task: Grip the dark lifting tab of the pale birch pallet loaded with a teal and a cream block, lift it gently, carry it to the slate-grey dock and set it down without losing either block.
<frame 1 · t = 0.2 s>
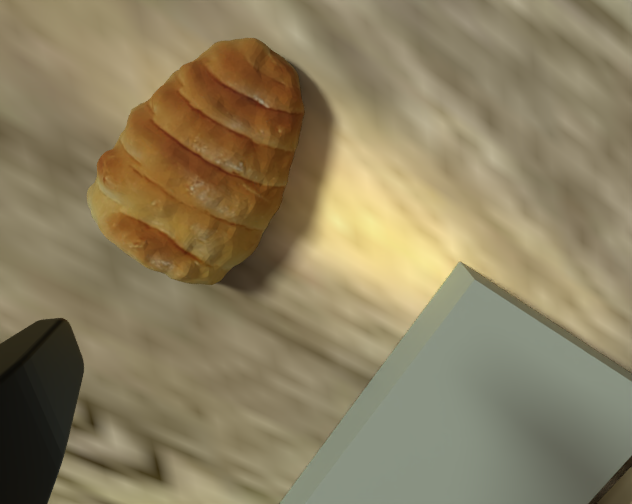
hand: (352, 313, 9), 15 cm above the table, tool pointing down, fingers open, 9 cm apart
pastry: (203, 165, 25), on the table
dock: (436, 465, 28), on the table
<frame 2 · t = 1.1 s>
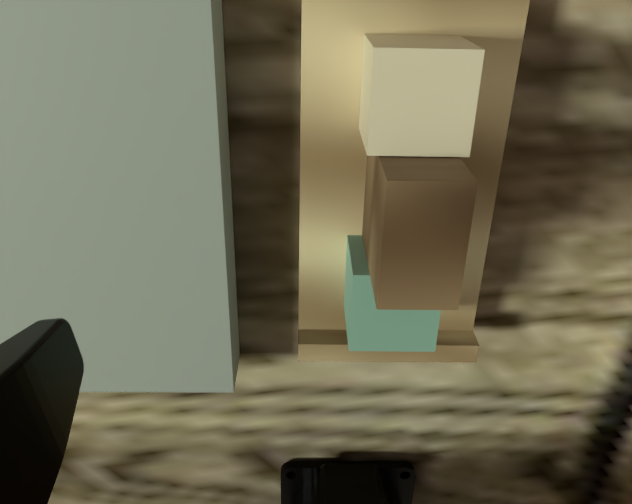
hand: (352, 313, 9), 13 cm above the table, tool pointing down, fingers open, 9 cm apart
dock: (94, 167, 22), on the table
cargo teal: (384, 271, 23), point 1 cm above the table, touching pallet
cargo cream: (407, 83, 19), point 1 cm above the table
pallet: (391, 165, 23), on the table, touching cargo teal
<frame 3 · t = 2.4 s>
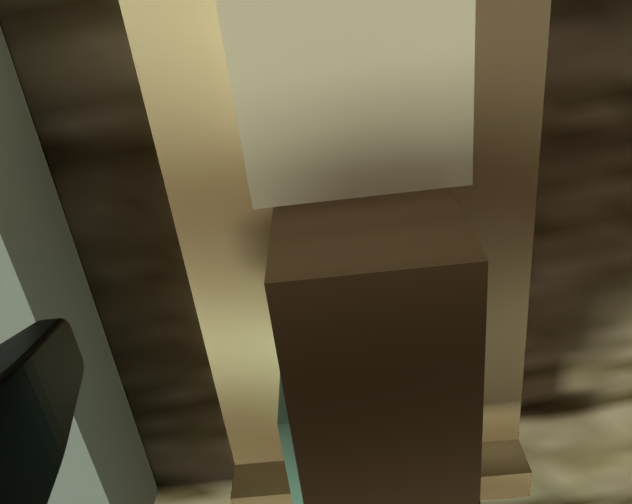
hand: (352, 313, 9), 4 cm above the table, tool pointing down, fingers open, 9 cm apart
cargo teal: (358, 368, 13), point 1 cm above the table, touching pallet
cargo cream: (339, 43, 10), point 1 cm above the table, touching pallet
pallet: (349, 189, 13), on the table, touching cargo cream, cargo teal
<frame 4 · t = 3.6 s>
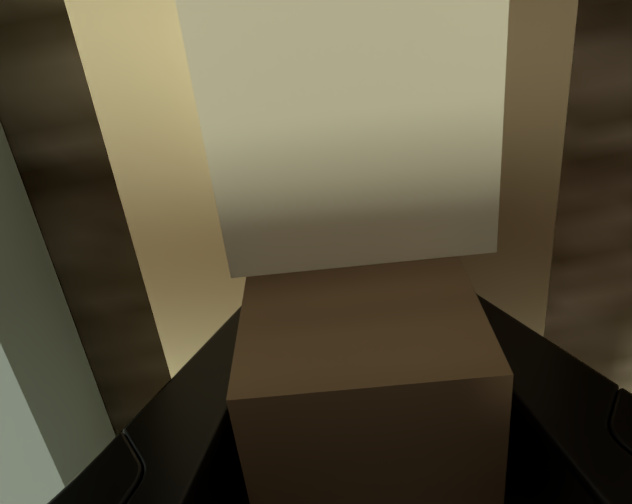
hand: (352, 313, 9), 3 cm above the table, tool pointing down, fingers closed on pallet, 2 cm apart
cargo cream: (338, 72, 9), point 2 cm above the table, touching pallet
pallet: (341, 227, 12), on the table, touching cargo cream, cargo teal, gripper
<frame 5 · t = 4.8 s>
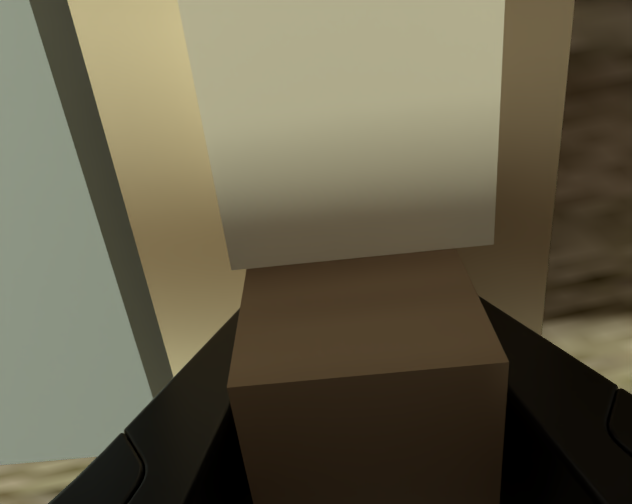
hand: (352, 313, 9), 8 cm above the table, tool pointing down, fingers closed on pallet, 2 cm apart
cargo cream: (337, 67, 9), point 7 cm above the table, touching pallet
pallet: (341, 223, 12), point 5 cm above the table, touching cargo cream, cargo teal, gripper
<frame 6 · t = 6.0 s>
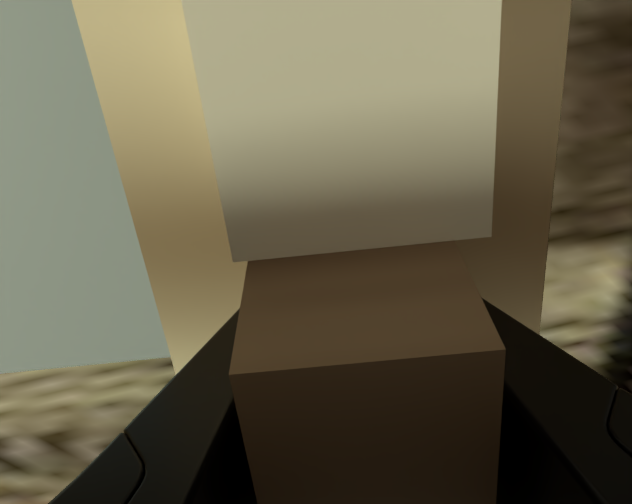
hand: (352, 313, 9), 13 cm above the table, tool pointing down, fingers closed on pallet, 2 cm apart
dock: (33, 132, 21), on the table
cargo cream: (337, 64, 9), point 12 cm above the table, touching pallet
pallet: (341, 219, 12), point 10 cm above the table, touching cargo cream, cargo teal, gripper
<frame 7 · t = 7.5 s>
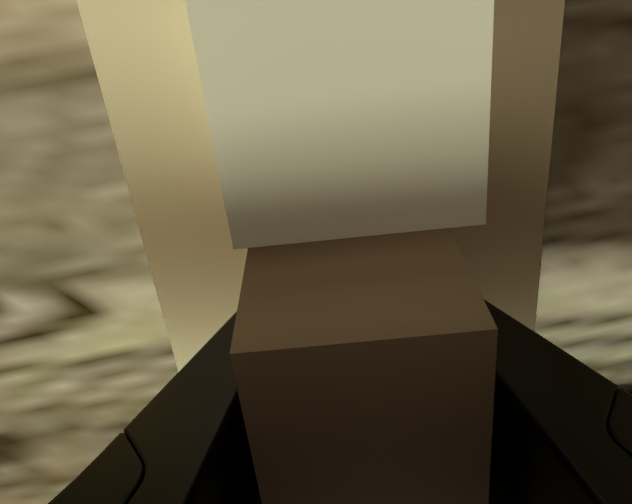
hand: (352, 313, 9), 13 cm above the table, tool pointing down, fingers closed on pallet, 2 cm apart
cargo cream: (335, 57, 9), point 11 cm above the table, touching pallet
pallet: (339, 212, 12), point 9 cm above the table, touching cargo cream, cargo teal, gripper
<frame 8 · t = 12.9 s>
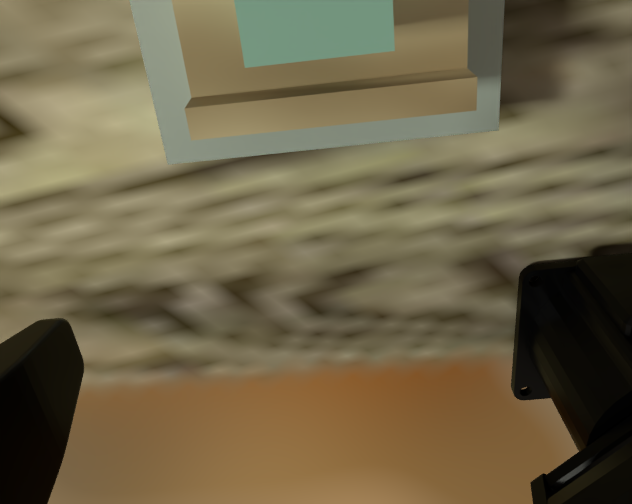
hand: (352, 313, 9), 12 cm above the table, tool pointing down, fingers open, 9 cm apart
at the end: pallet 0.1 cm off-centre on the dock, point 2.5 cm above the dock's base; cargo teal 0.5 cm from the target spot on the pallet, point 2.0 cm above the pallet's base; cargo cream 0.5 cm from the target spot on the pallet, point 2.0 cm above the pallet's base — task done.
